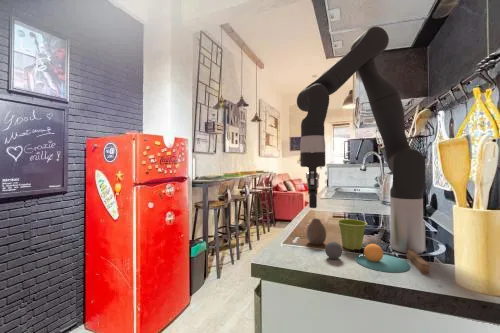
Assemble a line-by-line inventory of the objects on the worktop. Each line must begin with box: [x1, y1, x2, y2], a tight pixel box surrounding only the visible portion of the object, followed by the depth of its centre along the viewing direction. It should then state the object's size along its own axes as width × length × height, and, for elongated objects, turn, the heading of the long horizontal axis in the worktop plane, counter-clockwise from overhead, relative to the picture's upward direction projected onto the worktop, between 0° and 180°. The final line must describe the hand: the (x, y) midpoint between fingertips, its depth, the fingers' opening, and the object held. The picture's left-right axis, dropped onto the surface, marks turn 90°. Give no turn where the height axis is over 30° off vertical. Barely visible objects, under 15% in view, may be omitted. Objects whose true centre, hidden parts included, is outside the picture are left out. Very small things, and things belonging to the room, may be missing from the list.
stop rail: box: [406, 249, 430, 276], centre depth 69 cm, size 12×2×2 cm, turn 164°
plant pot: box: [337, 218, 368, 251], centre depth 85 cm, size 9×9×9 cm
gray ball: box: [324, 241, 343, 260], centre depth 75 cm, size 5×5×5 cm
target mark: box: [354, 253, 411, 273], centre depth 72 cm, size 14×14×1 cm
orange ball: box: [363, 243, 384, 262], centre depth 72 cm, size 5×5×5 cm
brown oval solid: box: [306, 218, 327, 246], centre depth 90 cm, size 7×7×9 cm
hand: (313, 207), depth 77 cm, fingers closed
